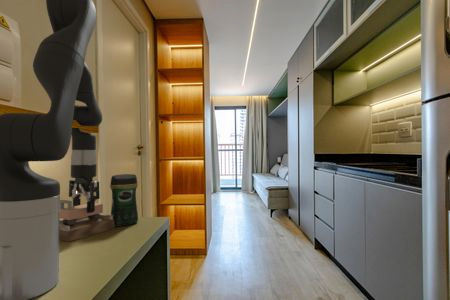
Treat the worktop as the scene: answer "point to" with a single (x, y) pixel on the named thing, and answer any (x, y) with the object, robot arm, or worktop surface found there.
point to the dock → (85, 227)
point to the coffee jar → (124, 199)
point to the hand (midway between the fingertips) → (83, 211)
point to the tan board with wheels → (77, 212)
